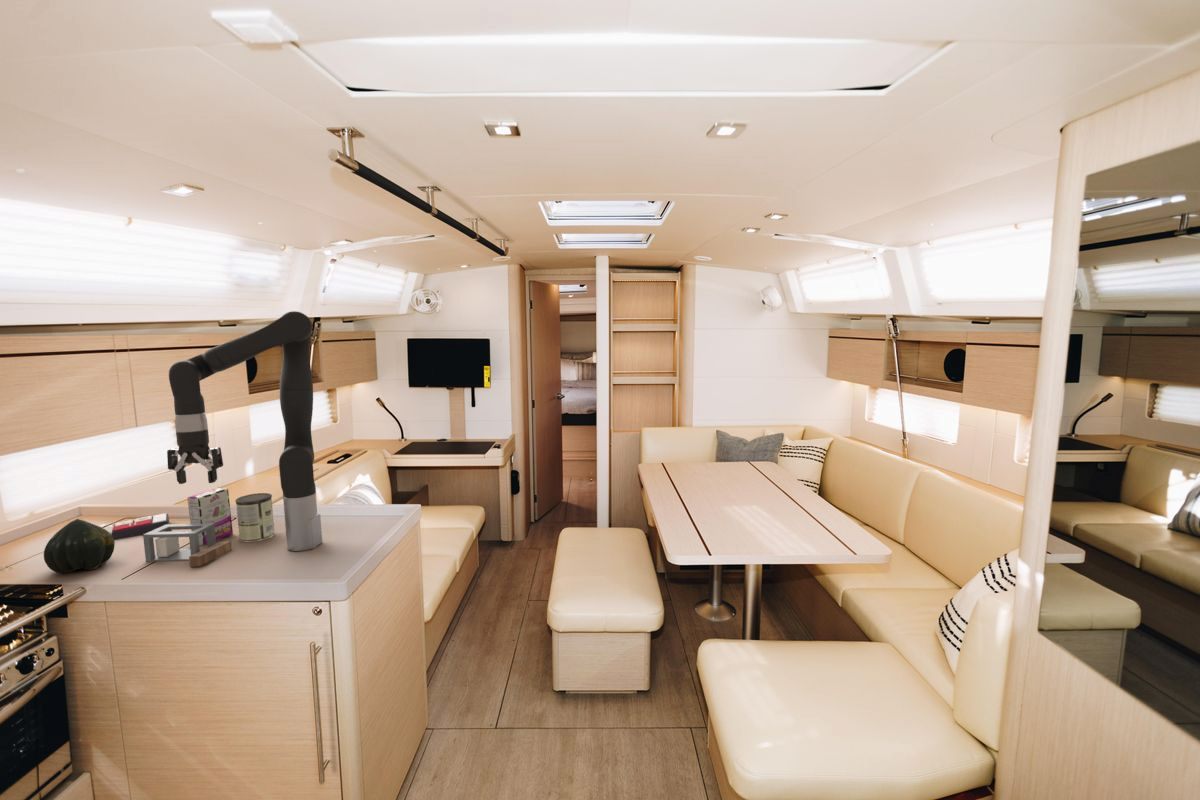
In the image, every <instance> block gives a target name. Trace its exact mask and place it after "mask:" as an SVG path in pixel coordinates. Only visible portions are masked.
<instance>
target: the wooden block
mask: <svg viewBox="0 0 1200 800" xmlns="http://www.w3.org/2000/svg"><path fill="white" fill-rule="evenodd" d="M205 548H206V549H204V550H202V551H200V552H198V553H196V554H193V555H191V556H189V561H188V562H189V567H203V566H202V565H204V564H206V563H208V562H210V561H211V560H213V559H217V558H219V557H220V556H223V555H224V554H225V553H227V552H229V551H230V550H232V540H221V541H219V542H216V544H214V545H212V546H210V547H208V546H207V547H205Z"/></svg>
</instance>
